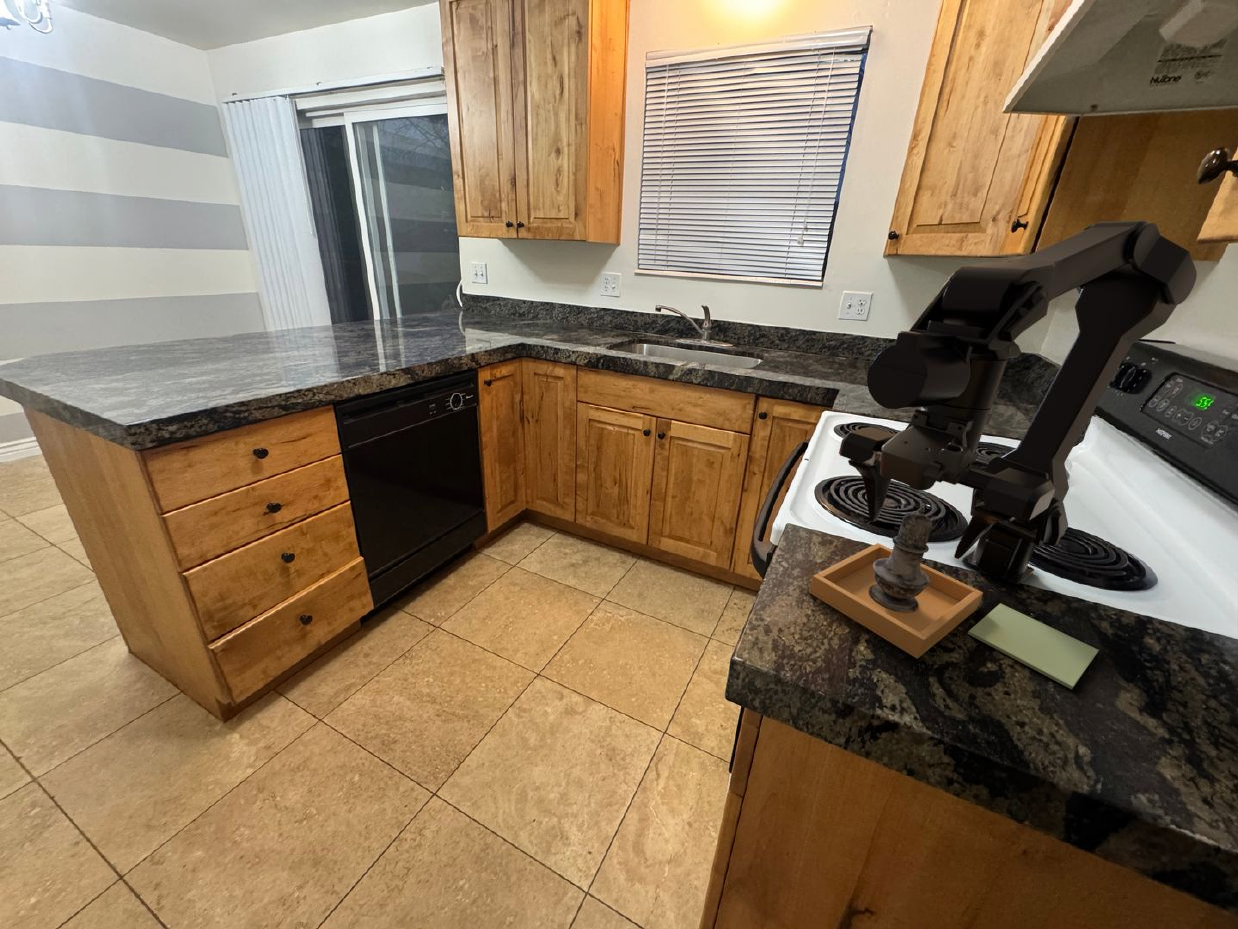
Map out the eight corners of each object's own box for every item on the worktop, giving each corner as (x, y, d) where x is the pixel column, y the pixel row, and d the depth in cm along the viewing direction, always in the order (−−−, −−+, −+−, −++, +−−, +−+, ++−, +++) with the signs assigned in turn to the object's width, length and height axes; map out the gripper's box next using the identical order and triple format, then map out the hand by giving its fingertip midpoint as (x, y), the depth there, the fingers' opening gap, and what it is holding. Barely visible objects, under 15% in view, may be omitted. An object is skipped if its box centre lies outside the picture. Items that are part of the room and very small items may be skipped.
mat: (999, 606, 59) (1000, 603, 59) (1097, 653, 52) (1099, 650, 52) (967, 633, 54) (968, 631, 54) (1071, 690, 47) (1073, 686, 47)
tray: (873, 557, 67) (877, 542, 66) (976, 609, 58) (983, 592, 57) (808, 592, 59) (812, 575, 58) (917, 659, 50) (924, 640, 49)
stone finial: (929, 618, 55) (963, 523, 51) (873, 609, 56) (902, 515, 52) (911, 587, 61) (941, 499, 56) (860, 579, 61) (885, 492, 57)
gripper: (826, 388, 52) (797, 520, 58) (1043, 443, 38) (976, 609, 44) (881, 379, 58) (850, 499, 64) (1085, 423, 44) (1021, 571, 50)
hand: (912, 537), depth 55 cm, fingers open, 9 cm apart
